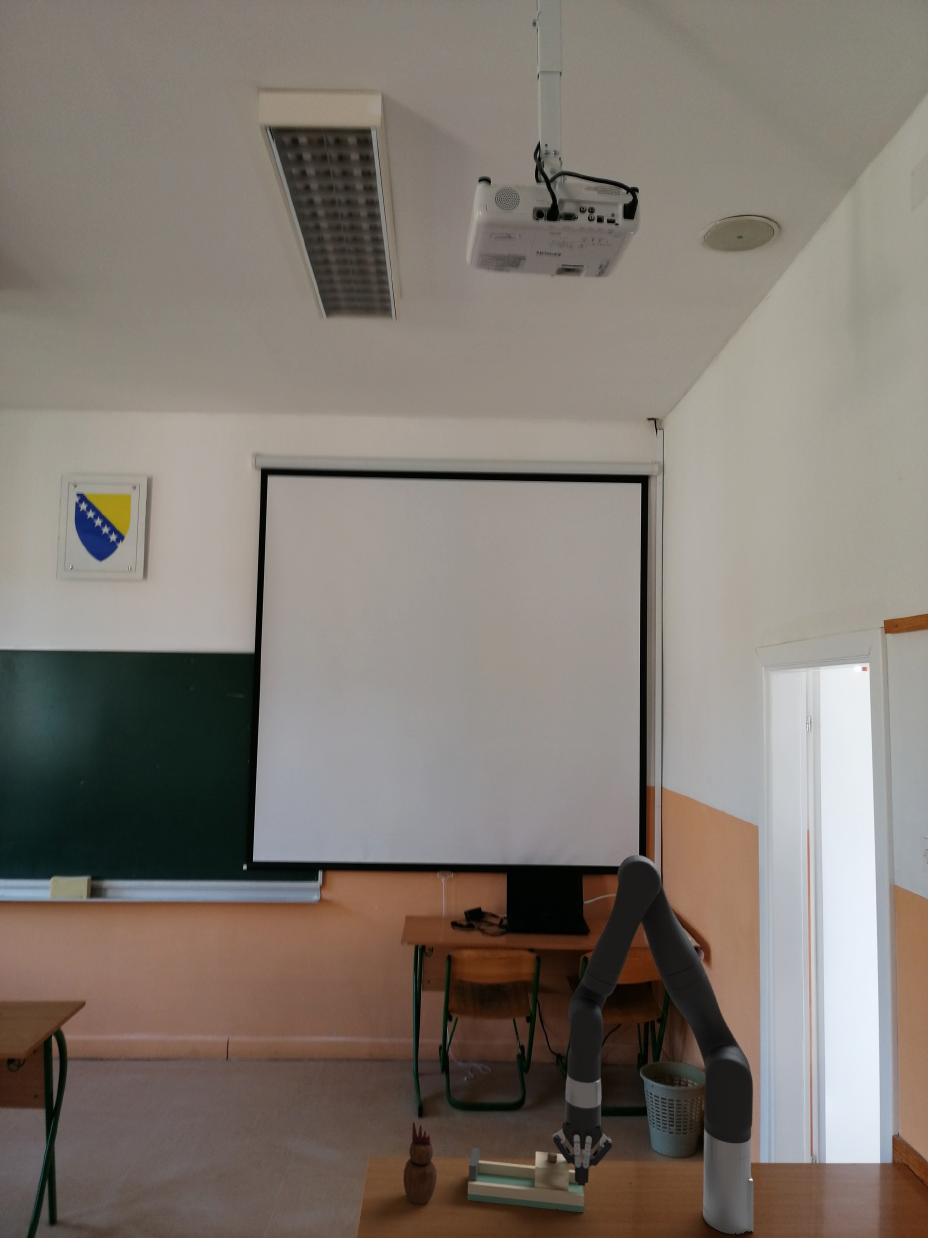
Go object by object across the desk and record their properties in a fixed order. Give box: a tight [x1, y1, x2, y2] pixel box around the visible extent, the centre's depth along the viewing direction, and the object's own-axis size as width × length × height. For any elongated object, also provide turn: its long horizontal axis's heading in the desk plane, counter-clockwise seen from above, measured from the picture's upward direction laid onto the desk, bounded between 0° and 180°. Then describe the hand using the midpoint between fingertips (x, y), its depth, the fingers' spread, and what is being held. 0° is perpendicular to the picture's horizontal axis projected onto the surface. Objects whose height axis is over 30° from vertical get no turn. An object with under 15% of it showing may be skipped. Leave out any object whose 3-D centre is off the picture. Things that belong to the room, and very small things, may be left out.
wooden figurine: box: [403, 1121, 438, 1205], centre depth 171 cm, size 7×6×15 cm
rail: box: [467, 1147, 585, 1213], centre depth 174 cm, size 24×9×6 cm, turn 84°
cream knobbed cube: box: [534, 1151, 570, 1191], centre depth 174 cm, size 7×6×7 cm
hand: (581, 1183), depth 173 cm, fingers closed
